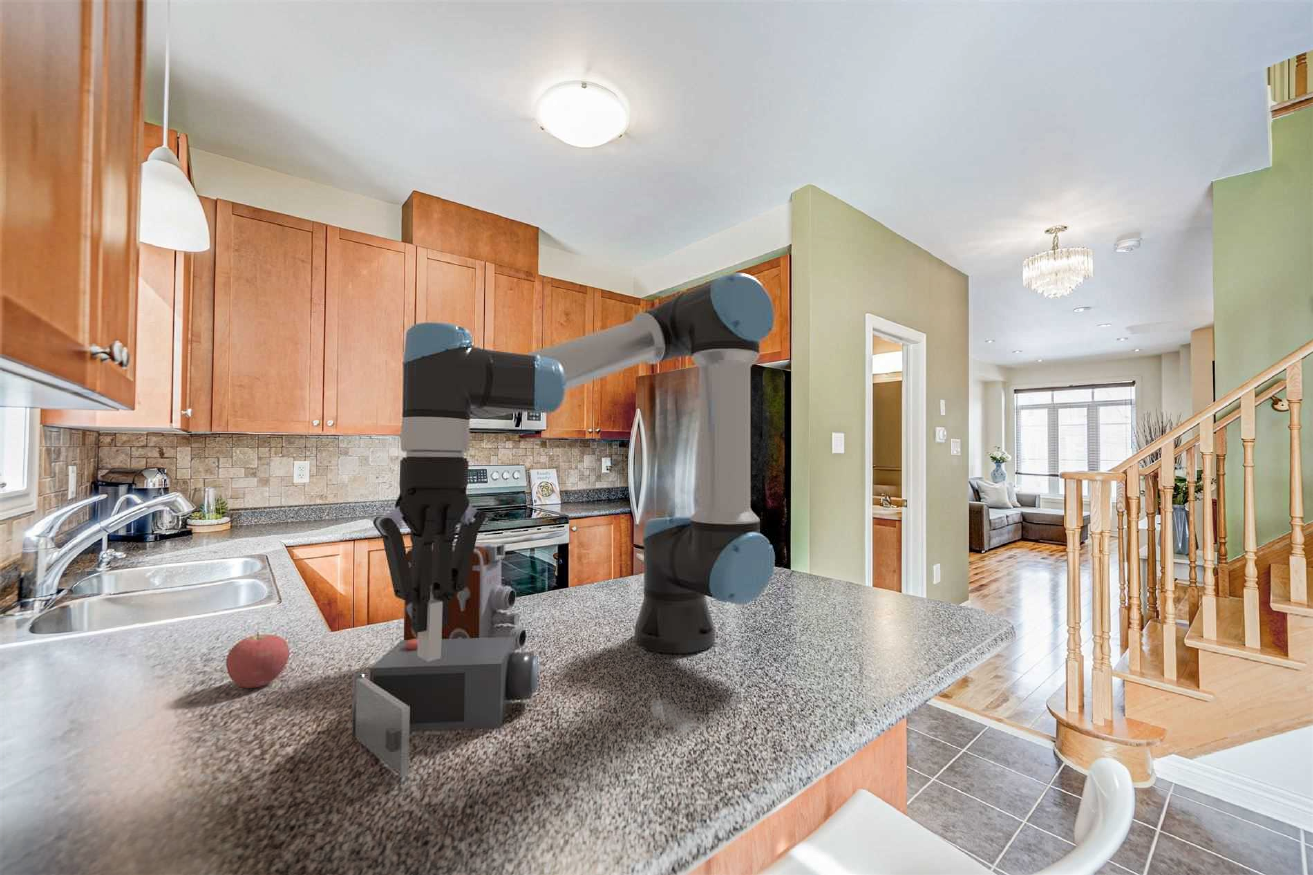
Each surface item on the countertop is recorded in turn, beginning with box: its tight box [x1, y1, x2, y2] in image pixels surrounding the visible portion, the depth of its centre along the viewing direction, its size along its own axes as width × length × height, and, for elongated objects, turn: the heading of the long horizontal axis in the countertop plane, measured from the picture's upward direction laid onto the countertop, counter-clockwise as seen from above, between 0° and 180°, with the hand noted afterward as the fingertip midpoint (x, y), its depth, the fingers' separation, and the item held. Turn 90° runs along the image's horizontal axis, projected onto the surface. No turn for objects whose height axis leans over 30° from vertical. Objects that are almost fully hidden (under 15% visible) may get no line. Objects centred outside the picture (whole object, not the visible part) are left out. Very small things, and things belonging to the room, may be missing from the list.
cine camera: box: [403, 539, 527, 650], centre depth 88 cm, size 9×19×20 cm, turn 78°
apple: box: [225, 630, 290, 689], centre depth 79 cm, size 7×7×8 cm
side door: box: [352, 671, 410, 778], centre depth 60 cm, size 13×2×7 cm, turn 50°
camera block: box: [369, 637, 539, 733], centre depth 71 cm, size 20×10×9 cm, turn 95°
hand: (429, 656), depth 62 cm, fingers closed
